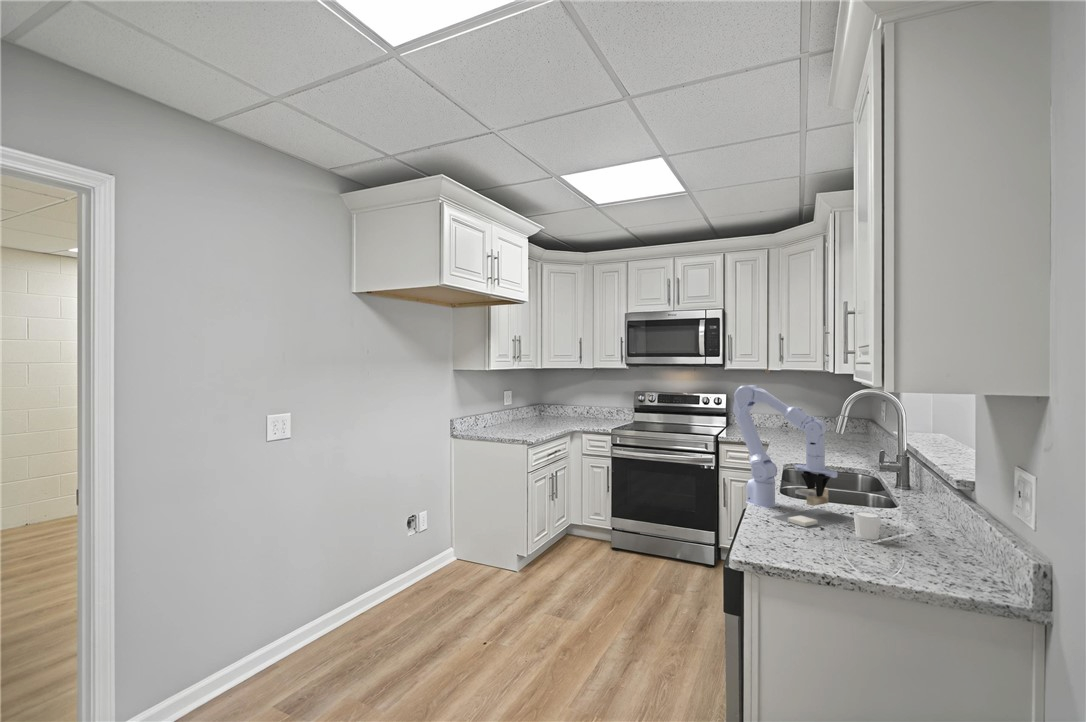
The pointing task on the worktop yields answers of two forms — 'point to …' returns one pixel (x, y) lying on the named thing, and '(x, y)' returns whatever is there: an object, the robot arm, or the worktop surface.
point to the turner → (813, 496)
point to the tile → (802, 521)
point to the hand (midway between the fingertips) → (815, 495)
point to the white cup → (867, 525)
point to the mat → (816, 517)
